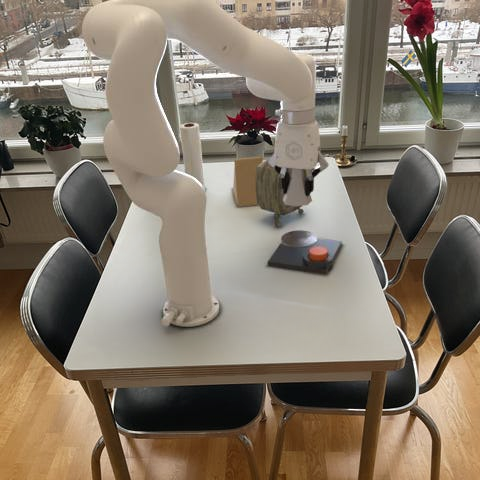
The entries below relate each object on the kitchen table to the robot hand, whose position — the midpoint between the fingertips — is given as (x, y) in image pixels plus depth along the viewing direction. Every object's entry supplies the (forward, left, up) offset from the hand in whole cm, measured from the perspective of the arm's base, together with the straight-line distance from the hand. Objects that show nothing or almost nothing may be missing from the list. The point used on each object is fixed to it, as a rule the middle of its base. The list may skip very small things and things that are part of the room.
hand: (297, 192), depth 130 cm
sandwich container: (+32, +26, -17) cm, 44 cm away
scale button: (-6, -7, -14) cm, 16 cm away
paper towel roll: (+32, +45, -17) cm, 58 cm away
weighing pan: (+1, 0, -13) cm, 13 cm away
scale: (-1, -3, -16) cm, 17 cm away
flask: (0, 0, -3) cm, 3 cm away
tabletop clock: (+19, +10, -17) cm, 27 cm away
